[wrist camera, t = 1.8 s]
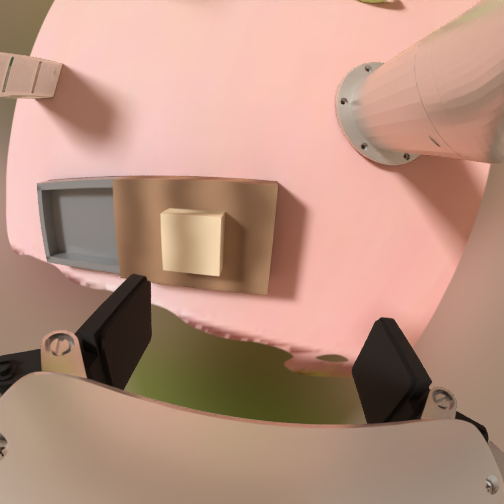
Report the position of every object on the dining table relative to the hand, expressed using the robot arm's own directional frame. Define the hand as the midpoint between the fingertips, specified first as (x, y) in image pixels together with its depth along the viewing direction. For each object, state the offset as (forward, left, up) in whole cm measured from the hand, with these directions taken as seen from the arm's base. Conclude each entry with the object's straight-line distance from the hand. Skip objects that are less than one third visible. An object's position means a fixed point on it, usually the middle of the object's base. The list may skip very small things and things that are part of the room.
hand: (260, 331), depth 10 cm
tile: (+7, +3, -18) cm, 19 cm away
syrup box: (+34, -19, -22) cm, 45 cm away
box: (+25, +3, -22) cm, 33 cm away
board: (+8, +3, -22) cm, 24 cm away
